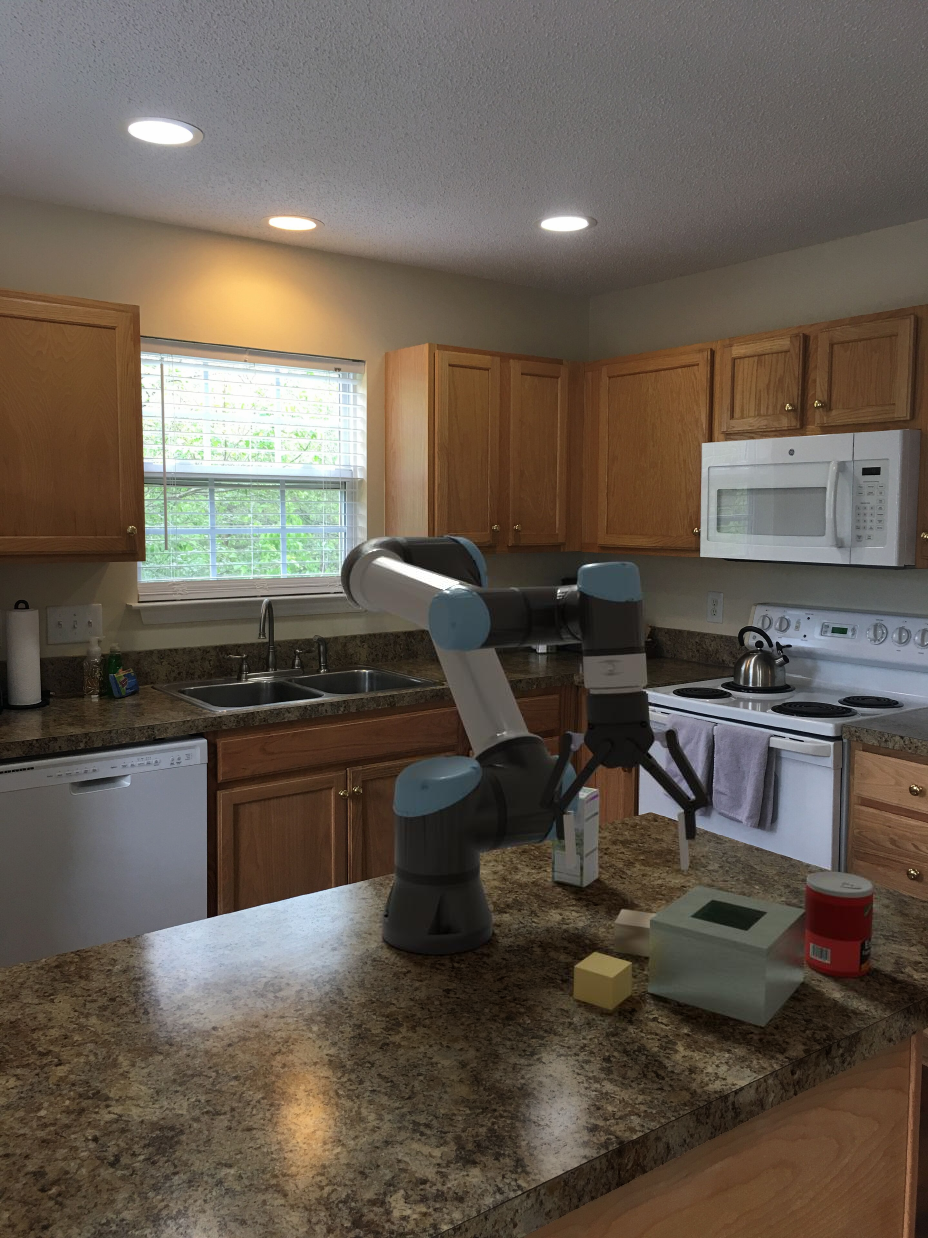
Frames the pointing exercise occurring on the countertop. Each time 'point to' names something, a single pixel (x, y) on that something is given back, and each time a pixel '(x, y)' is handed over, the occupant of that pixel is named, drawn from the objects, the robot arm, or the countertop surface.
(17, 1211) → the countertop surface
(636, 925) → the block
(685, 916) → the box
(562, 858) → the syrup box
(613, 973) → the block
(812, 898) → the canned food
